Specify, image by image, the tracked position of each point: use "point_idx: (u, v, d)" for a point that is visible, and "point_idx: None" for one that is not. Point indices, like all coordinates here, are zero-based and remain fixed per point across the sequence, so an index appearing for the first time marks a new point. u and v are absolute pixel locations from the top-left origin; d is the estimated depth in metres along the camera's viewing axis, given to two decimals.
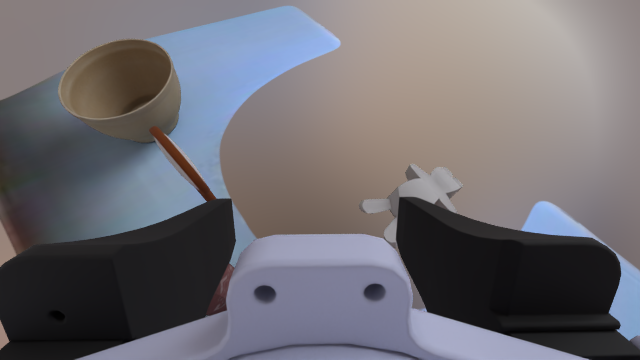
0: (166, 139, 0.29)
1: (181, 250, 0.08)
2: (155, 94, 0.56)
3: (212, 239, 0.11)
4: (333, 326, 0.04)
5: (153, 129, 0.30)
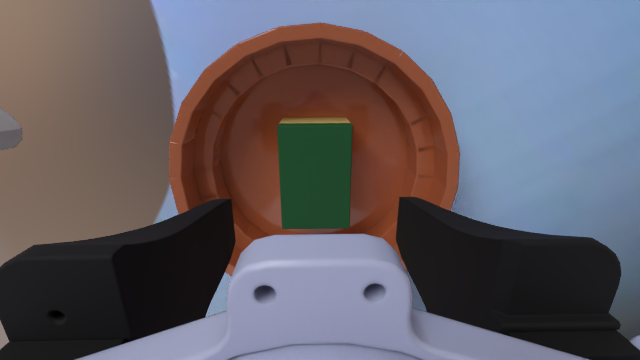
0: None
1: (181, 250, 0.08)
2: None
3: (212, 239, 0.11)
4: (333, 326, 0.04)
5: None
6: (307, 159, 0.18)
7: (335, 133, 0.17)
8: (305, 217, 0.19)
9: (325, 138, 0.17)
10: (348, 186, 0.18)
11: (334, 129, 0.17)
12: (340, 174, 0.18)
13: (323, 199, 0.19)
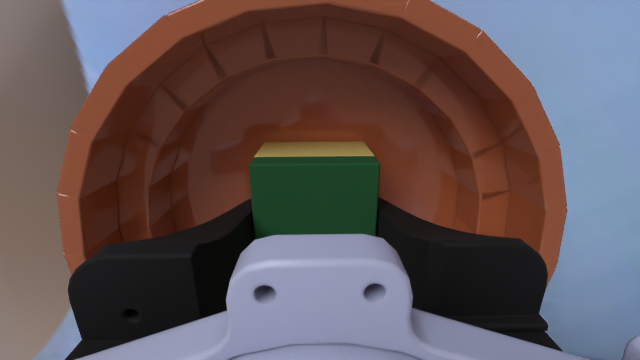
0: None
1: (233, 249, 0.09)
2: None
3: (253, 239, 0.11)
4: (333, 326, 0.04)
5: None
6: (301, 219, 0.10)
7: (350, 175, 0.10)
8: None
9: (332, 185, 0.10)
10: None
11: (348, 170, 0.10)
12: None
13: None
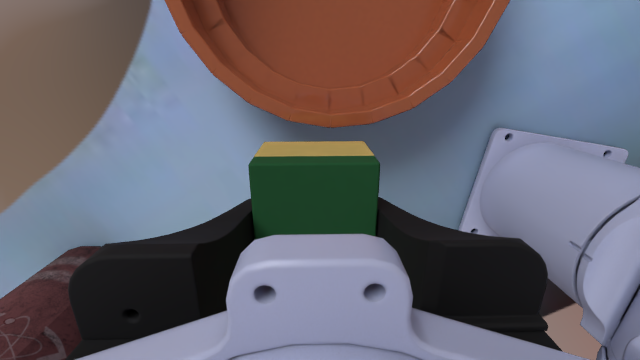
0: None
1: (233, 249, 0.09)
2: None
3: (253, 239, 0.11)
4: (333, 326, 0.04)
5: None
6: (301, 218, 0.10)
7: (351, 175, 0.10)
8: None
9: (332, 184, 0.10)
10: None
11: (348, 169, 0.10)
12: None
13: None
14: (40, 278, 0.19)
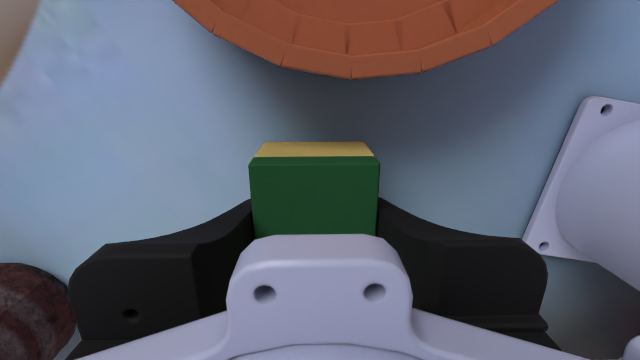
0: None
1: (233, 249, 0.09)
2: None
3: (253, 239, 0.11)
4: (333, 326, 0.04)
5: None
6: (301, 219, 0.10)
7: (351, 175, 0.10)
8: None
9: (332, 185, 0.10)
10: None
11: (348, 170, 0.10)
12: None
13: None
14: None
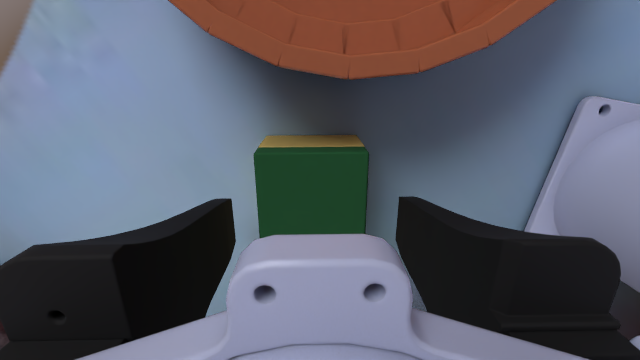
0: None
1: (181, 250, 0.08)
2: None
3: (212, 239, 0.11)
4: (333, 326, 0.04)
5: None
6: (300, 202, 0.12)
7: (343, 163, 0.11)
8: None
9: (327, 171, 0.11)
10: None
11: (341, 158, 0.11)
12: (349, 223, 0.12)
13: None
14: None
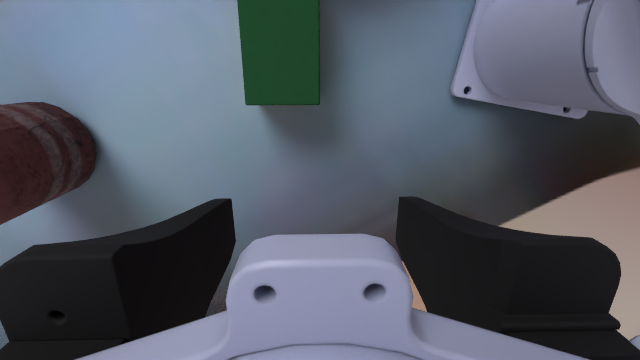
0: None
1: (181, 250, 0.08)
2: None
3: (212, 239, 0.11)
4: (333, 326, 0.04)
5: None
6: (270, 17, 0.16)
7: None
8: (270, 90, 0.17)
9: None
10: (317, 51, 0.17)
11: None
12: (307, 36, 0.16)
13: (289, 67, 0.17)
14: None
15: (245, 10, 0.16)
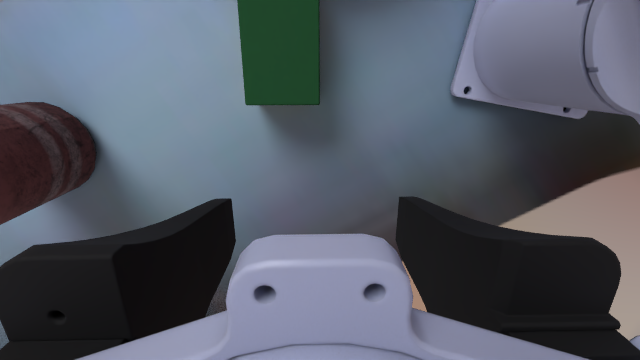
0: None
1: (181, 250, 0.08)
2: None
3: (212, 239, 0.11)
4: (333, 326, 0.04)
5: None
6: (270, 17, 0.16)
7: None
8: (270, 90, 0.17)
9: None
10: (317, 51, 0.17)
11: None
12: (307, 36, 0.16)
13: (289, 67, 0.17)
14: None
15: (245, 10, 0.16)
